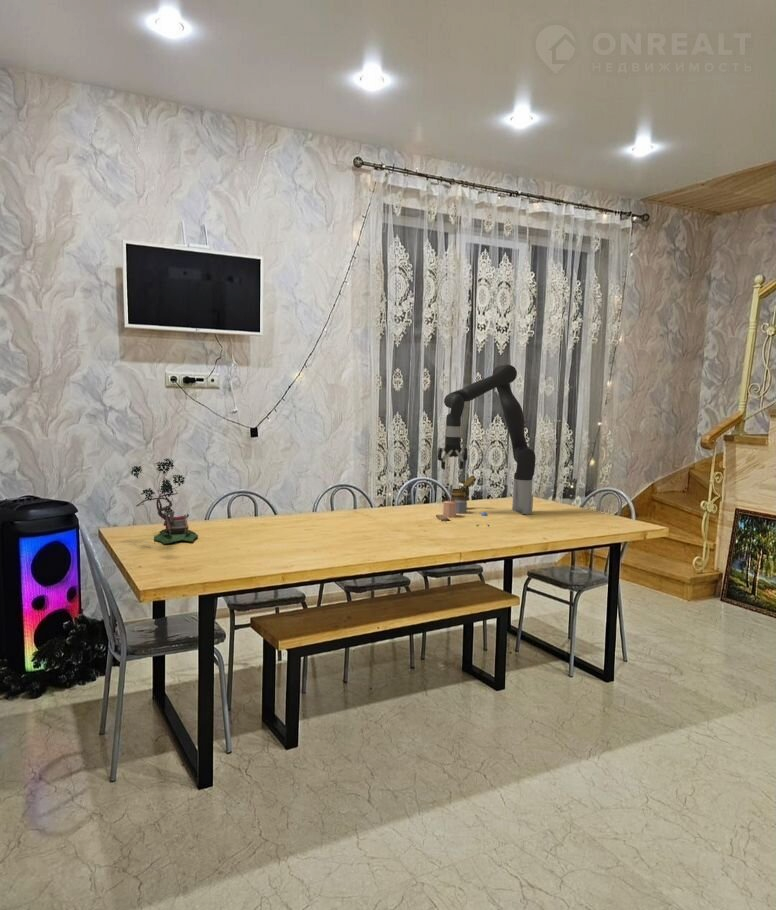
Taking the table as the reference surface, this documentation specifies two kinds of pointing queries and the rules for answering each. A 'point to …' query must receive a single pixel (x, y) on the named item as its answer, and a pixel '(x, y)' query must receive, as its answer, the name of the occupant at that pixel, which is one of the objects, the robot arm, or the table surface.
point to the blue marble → (484, 514)
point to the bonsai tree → (174, 525)
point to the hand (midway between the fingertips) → (452, 469)
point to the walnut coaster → (442, 518)
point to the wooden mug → (462, 490)
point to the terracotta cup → (449, 509)
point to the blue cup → (461, 506)
